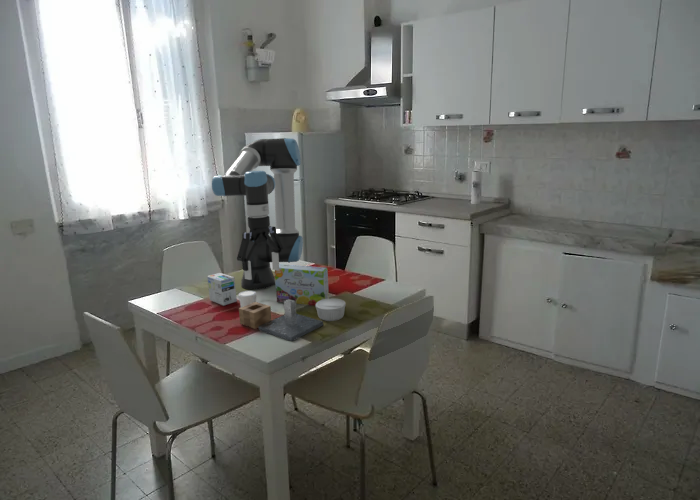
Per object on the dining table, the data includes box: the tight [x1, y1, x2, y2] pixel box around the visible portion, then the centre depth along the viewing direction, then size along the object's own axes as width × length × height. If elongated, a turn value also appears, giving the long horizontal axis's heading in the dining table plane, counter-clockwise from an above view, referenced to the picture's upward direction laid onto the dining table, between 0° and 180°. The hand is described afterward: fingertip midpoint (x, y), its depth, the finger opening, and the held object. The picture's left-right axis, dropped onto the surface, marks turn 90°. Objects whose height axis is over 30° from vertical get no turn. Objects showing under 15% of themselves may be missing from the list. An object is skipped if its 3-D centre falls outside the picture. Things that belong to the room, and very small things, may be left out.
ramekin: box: [315, 297, 346, 322], centre depth 178 cm, size 11×11×5 cm
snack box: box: [274, 263, 330, 307], centre depth 192 cm, size 21×6×15 cm, turn 72°
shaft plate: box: [258, 299, 324, 342], centre depth 168 cm, size 16×16×10 cm
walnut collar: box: [238, 301, 273, 330], centre depth 173 cm, size 8×8×6 cm
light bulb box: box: [206, 272, 237, 307], centre depth 196 cm, size 11×7×11 cm, turn 47°
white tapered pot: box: [237, 290, 257, 308], centre depth 186 cm, size 7×7×7 cm
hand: (262, 274), depth 172 cm, fingers open, 13 cm apart
